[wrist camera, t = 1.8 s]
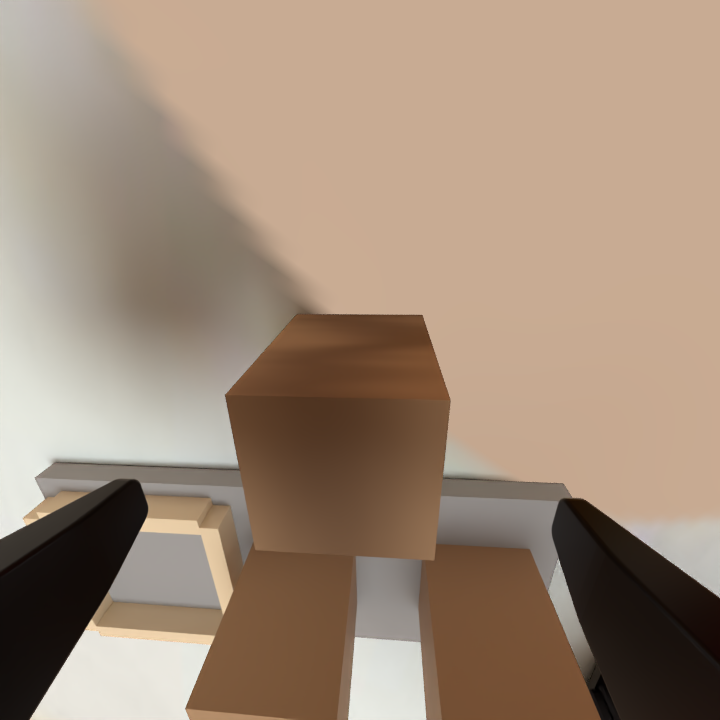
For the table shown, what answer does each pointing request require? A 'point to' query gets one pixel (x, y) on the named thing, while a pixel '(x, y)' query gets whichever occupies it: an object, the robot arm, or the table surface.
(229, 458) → the table surface
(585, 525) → the robot arm
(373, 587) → the holder
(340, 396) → the walnut block
